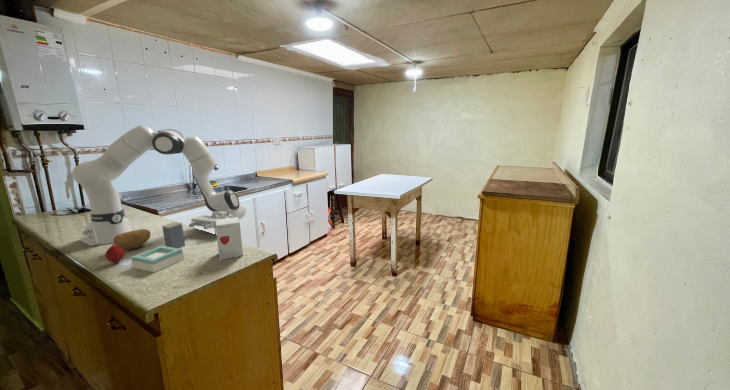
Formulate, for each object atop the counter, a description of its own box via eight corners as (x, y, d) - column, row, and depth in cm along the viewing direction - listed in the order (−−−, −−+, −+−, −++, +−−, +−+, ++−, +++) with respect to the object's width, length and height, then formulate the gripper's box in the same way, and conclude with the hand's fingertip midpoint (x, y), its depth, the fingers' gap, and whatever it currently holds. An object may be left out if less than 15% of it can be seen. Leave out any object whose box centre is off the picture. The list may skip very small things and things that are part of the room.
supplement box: (219, 260, 117) (215, 225, 114) (219, 252, 125) (214, 219, 122) (243, 256, 121) (239, 222, 118) (241, 248, 129) (238, 216, 126)
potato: (157, 244, 136) (154, 227, 134) (122, 255, 123) (119, 237, 122) (145, 240, 140) (142, 225, 138) (110, 251, 127) (107, 234, 126)
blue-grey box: (165, 249, 129) (161, 226, 127) (178, 244, 135) (175, 222, 132) (172, 250, 128) (168, 227, 125) (185, 245, 133) (181, 222, 131)
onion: (115, 266, 113) (111, 247, 111) (103, 265, 114) (99, 246, 112) (130, 260, 119) (126, 241, 117) (118, 259, 120) (114, 240, 118)
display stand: (132, 267, 112) (130, 256, 111) (163, 255, 123) (161, 245, 122) (154, 272, 108) (152, 261, 107) (183, 259, 119) (182, 249, 118)
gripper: (204, 211, 156) (180, 218, 144) (234, 214, 150) (212, 222, 137) (205, 222, 158) (182, 230, 145) (235, 226, 151) (213, 234, 138)
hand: (197, 226), depth 141 cm, fingers open, 8 cm apart
